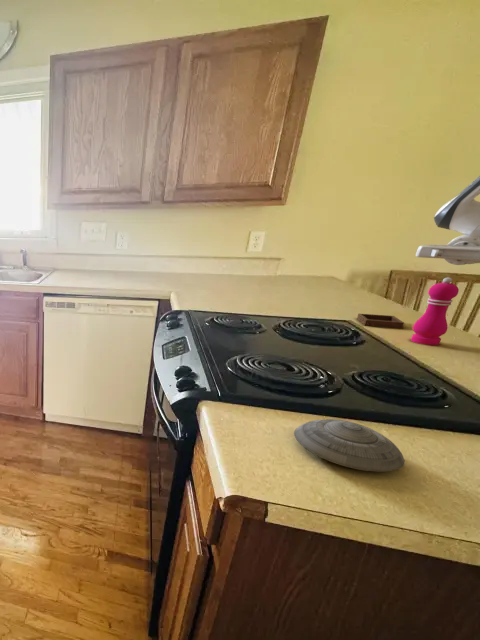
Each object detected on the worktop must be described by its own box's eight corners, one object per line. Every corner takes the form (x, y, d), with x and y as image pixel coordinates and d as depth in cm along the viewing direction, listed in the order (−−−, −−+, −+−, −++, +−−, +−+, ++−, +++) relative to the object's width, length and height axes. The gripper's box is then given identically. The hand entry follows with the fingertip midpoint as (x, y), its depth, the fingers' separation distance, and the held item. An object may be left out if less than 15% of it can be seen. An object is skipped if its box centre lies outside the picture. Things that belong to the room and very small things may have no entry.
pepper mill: (434, 347, 118) (459, 280, 111) (403, 340, 124) (425, 277, 117) (446, 343, 121) (471, 278, 114) (415, 337, 127) (437, 274, 120)
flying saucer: (325, 423, 79) (332, 399, 77) (422, 465, 66) (433, 436, 64) (273, 440, 74) (279, 415, 73) (366, 488, 61) (377, 458, 59)
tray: (392, 321, 144) (393, 315, 144) (402, 328, 136) (404, 322, 135) (356, 318, 149) (358, 313, 148) (364, 325, 141) (366, 319, 140)
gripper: (421, 239, 135) (416, 243, 126) (516, 242, 120) (517, 246, 112) (415, 258, 137) (409, 263, 129) (507, 263, 122) (507, 269, 114)
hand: (460, 255), depth 120 cm, fingers open, 8 cm apart
